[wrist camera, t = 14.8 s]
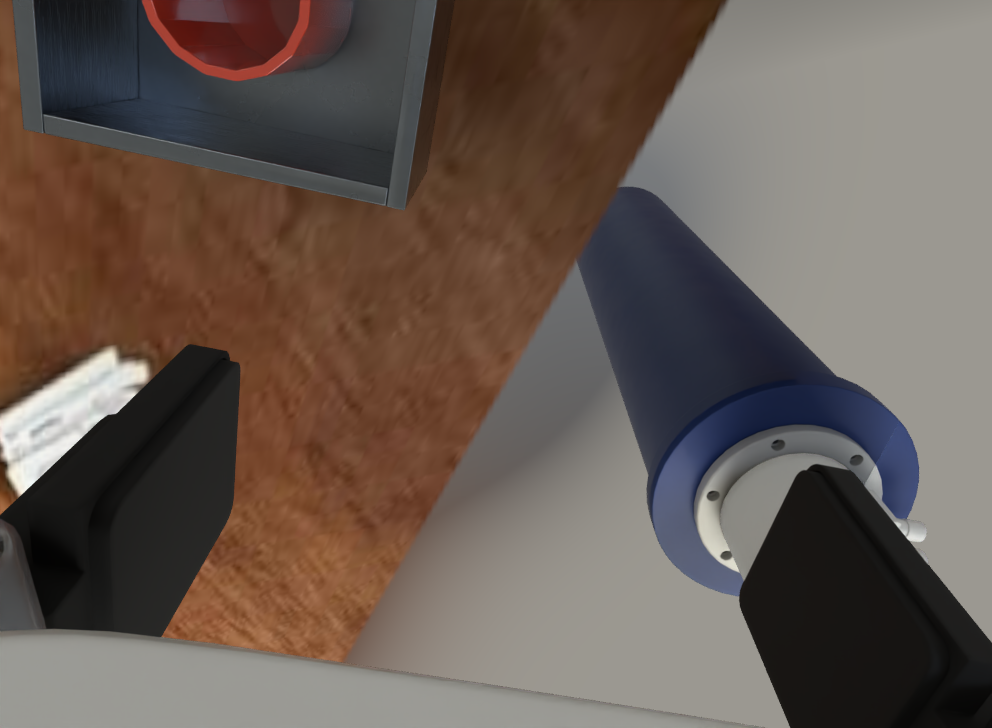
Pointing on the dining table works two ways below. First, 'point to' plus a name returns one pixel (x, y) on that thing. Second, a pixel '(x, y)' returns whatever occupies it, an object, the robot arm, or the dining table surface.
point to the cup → (251, 34)
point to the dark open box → (243, 97)
